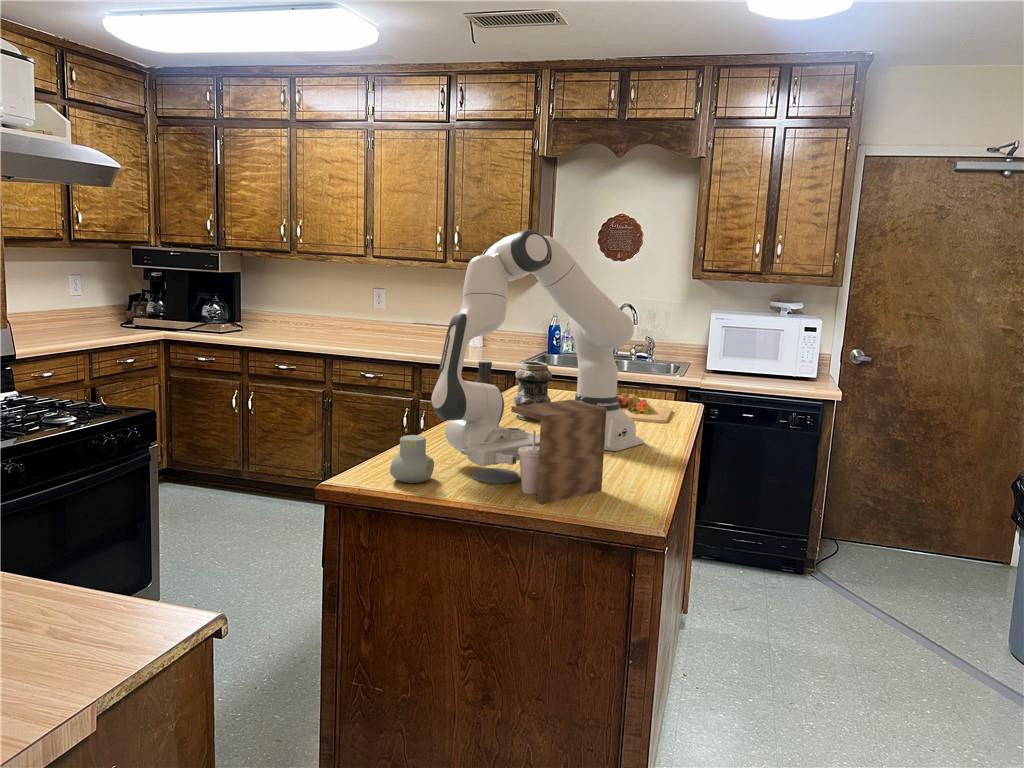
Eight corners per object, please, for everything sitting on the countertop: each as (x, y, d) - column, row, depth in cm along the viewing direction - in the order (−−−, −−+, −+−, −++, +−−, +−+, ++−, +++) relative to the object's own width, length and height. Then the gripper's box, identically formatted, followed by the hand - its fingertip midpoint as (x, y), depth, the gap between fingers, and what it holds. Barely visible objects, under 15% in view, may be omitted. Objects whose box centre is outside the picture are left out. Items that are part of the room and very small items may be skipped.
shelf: (568, 478, 187) (572, 399, 184) (601, 490, 178) (606, 408, 175) (508, 490, 176) (511, 406, 173) (540, 504, 167) (544, 415, 164)
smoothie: (524, 496, 172) (527, 434, 169) (511, 488, 177) (513, 428, 175) (549, 493, 175) (553, 432, 172) (535, 485, 180) (538, 426, 178)
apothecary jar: (557, 420, 253) (560, 364, 250) (527, 423, 246) (529, 366, 243) (535, 412, 263) (538, 359, 260) (505, 415, 256) (507, 361, 253)
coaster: (499, 468, 194) (499, 465, 194) (528, 479, 185) (528, 476, 185) (463, 474, 187) (463, 472, 187) (490, 486, 178) (490, 483, 178)
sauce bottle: (490, 429, 236) (492, 363, 233) (470, 427, 237) (472, 362, 234) (495, 424, 242) (497, 360, 239) (475, 422, 244) (477, 359, 240)
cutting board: (672, 412, 276) (674, 391, 275) (665, 425, 254) (667, 403, 253) (574, 403, 286) (576, 383, 284) (560, 415, 264) (561, 393, 262)
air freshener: (422, 488, 175) (423, 444, 173) (387, 485, 176) (387, 441, 175) (435, 475, 186) (436, 434, 184) (402, 472, 187) (403, 431, 185)
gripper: (457, 436, 179) (493, 450, 168) (526, 427, 191) (564, 439, 181) (456, 463, 180) (492, 478, 169) (525, 452, 192) (563, 465, 182)
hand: (530, 458), depth 175 cm, fingers open, 8 cm apart
